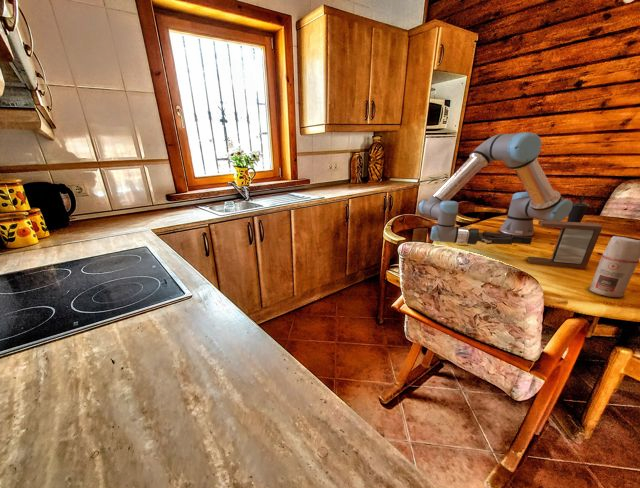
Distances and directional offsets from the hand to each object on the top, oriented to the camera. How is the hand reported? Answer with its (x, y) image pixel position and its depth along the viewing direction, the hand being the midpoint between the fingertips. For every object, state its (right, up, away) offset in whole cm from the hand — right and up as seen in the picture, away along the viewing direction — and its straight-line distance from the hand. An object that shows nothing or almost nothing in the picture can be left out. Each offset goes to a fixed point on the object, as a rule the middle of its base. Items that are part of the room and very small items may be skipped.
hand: (530, 240), depth 120 cm
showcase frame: (+8, -10, -1) cm, 13 cm away
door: (+12, -8, -3) cm, 15 cm away
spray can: (+5, -20, -24) cm, 32 cm away
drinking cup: (+61, +11, +42) cm, 74 cm away
